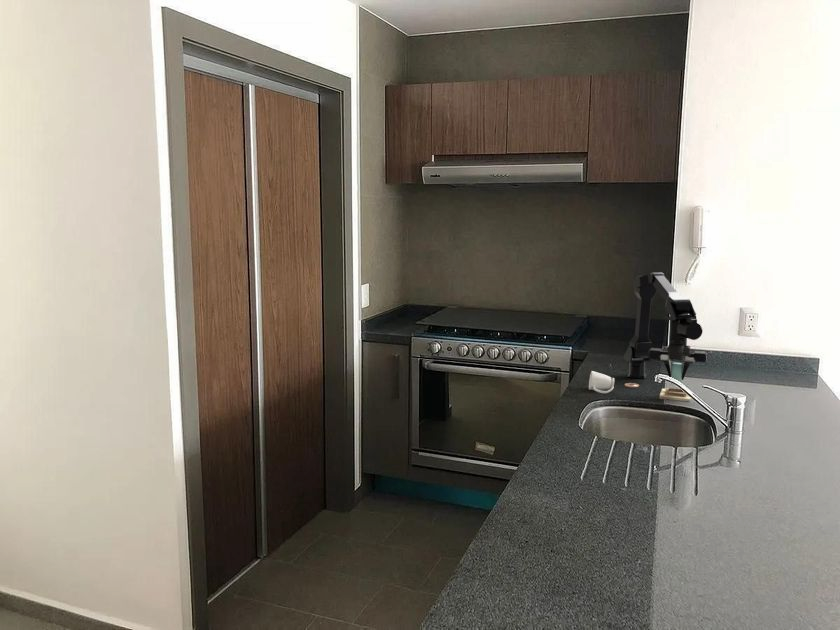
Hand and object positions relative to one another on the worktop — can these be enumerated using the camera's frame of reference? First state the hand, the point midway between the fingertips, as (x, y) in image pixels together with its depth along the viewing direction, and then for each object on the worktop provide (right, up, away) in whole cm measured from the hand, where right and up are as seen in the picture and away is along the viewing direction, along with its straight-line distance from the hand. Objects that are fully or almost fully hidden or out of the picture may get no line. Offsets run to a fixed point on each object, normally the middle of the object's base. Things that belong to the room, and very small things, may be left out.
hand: (676, 379), depth 243 cm
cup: (-19, -3, +9) cm, 21 cm away
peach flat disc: (-11, -4, +16) cm, 19 cm away
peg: (0, -2, 0) cm, 2 cm away
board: (0, -6, +1) cm, 6 cm away
